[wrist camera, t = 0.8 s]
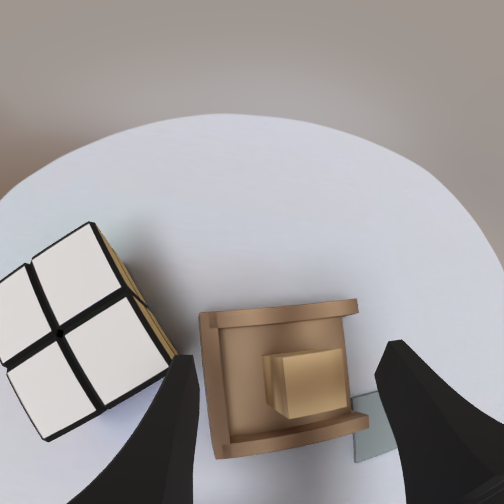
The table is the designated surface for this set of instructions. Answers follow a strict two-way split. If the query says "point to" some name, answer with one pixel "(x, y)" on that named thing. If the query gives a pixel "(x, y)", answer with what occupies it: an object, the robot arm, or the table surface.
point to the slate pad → (372, 429)
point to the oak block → (304, 382)
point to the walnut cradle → (252, 379)
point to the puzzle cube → (77, 333)
